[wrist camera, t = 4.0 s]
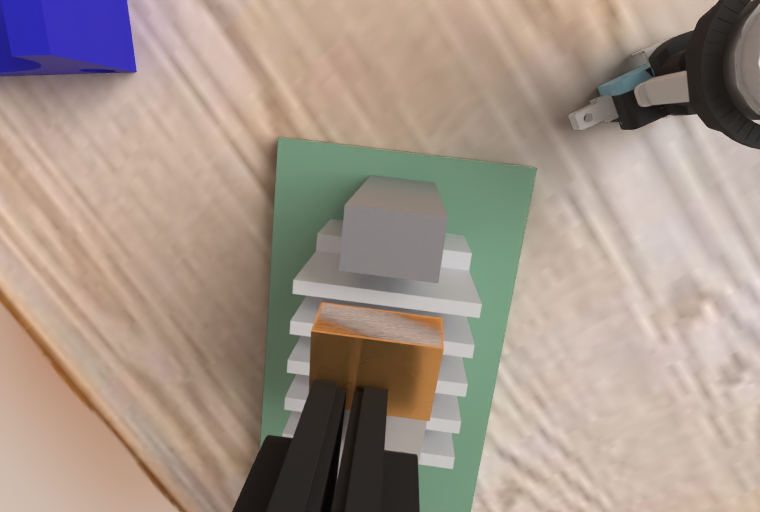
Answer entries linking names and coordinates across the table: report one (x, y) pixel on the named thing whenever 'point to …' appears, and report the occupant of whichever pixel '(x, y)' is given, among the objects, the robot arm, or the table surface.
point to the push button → (692, 78)
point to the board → (398, 280)
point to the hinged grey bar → (381, 365)
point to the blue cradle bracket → (65, 37)
